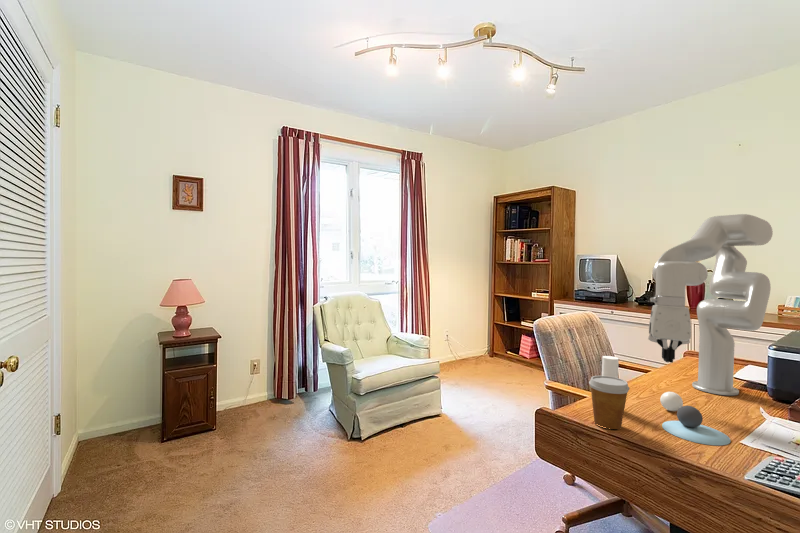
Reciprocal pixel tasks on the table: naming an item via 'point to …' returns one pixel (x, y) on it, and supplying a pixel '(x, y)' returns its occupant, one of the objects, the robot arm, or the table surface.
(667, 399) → the cue ball
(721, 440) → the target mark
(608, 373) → the tube
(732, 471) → the table surface
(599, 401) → the disposable coffee cup
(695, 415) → the object ball
